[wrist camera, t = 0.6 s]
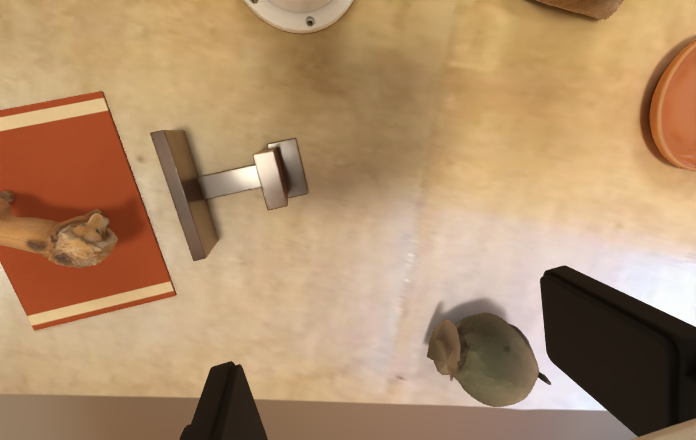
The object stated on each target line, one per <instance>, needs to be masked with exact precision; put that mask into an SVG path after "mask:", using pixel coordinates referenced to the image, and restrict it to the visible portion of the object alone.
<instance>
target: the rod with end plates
mask: <svg viewBox="0 0 696 440" xmlns="http://www.w3.org/2000/svg"><path fill="white" fill-rule="evenodd" d="M150 134H151V137H152V140H153V143H154V146H155V149H156V152H157V155H158V158H159V161H160V164H161V167H162V170H163V173H164V175H165V178H166V181H167V184H168V187H169V190H170V193H171V196H172V199H173V202H174V205H175V208H176V211H177V214H178V217H179V220H180V223H181V225H182V228H183V231H184V234H185V237H186V240H187V243H188V246H189V249H190V252H191V255H192V258H193V261H196V260H201V259H205V258H206V257H207V256H208V254H209V253H210V252H211V250H212V249H213V247H214V246H215V244H216V243H217V242H218V237H217V234H216V230H215V227H214V224H213V221H212V218H211V215H210V211H209V208H208V205H207V202H206V199H211V198H215V197H220V196H224V195H229V194H233V193H238V192H242V191H247V190H251V189H255V188H260V187H261V188H262V191H263V195H264V199H265V202H266V206H267V210H273V209H277V208H281V207H286V206H287V205H288V198H292V197H296V196H300V195H305V194H308V189H307V185H306V181H305V176H304V172H303V168H302V164H301V159H300V155H299V151H298V147H297V142H296V139H295V138H294V139H289V140H284V141H280V142H275V143H270V144H267V146H268V149H267V150H262V151H259V152H257V153H255V154H253V158H254V162H255V165H250V166H246V167H241V168H237V169H232V170H227V171H223V172H218V173H214V174H209V175H204V176H200V177H198V173H197V170H196V167H195V164H194V161H193V157H192V154H191V151H190V148H189V145H188V142H187V138H186V135H185V132H184V131H174V130H161V131H156V132H152V133H150Z"/></svg>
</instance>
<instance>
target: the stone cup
mask: <svg viewBox="0 0 696 440" xmlns="http://www.w3.org/2000/svg"><path fill="white" fill-rule="evenodd" d="M536 1H539V2H541V3H544V4H547V5H551V6H555V7H558V8H562V9H565V10H568V11H572V12H576V13H580V14H584V15H588V16H591V17H595V18H599V19H607V18H609V17H610V16H611V15H612V14H613V13H614V12H615V11H616V10H617V8H618V7H619V5H620V4H621V2H622V1H623V0H536Z"/></svg>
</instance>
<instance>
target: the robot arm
mask: <svg viewBox="0 0 696 440" xmlns="http://www.w3.org/2000/svg"><path fill="white" fill-rule="evenodd" d="M244 1H245V3H246V4H247V6H248V7H249V8H250V9H251V10H252V11H253V12H254V13H255V14H256V15H257V16H258V17H259V18H261V19H262V20H263V21H265V22H266V23H267V24H269V25H271V26H273V27H275V28H277V29H280V30H283V31H287V32H290V33H301V34H304V33H311V32H316V31H319V30H322V29H325V28H327V27H328V26H330V25H332V24H333V23H335V22H336V21H337V20H338V19H339V18H341V17H342V16H343V15H344V14H345V12H346V11H347V10H348V8H349V7H350V5H351V4H352V2H353V0H257V1H258V2H257V3H256V4H255V3H253V2H252V1H253V0H244ZM309 21H311V22H312V26H309V25H308V24H307V23H308V22H309ZM540 286H541V297H542V308H543V319H544V330H545V341H546V351H547V354H548V356H549V358H550V360H551V361H552V362H553V363H554V364H555V365H556V366H557V367H558V368H559V369H561V370H562V371H563V372H564V373H565V374H566V375H567V376H569V377H570V378H571V379H572V380H573V381H574V382H576V383H577V384H578V385H579V386H580V387H581V388H582V389H584V390H585V391H586V392H587V393H588V394H589V395H591V396H592V397H593V398H594V399H595V400H596V401H597V402H599V403H600V404H601V405H602V406H603V407H604V408H605V409H607V410H608V411H609V412H610V413H611V414H612V415H614V416H615V417H616V418H617V419H618V420H619V421H621V422H622V423H623V424H624V425H625V426H626V427H628V428H629V429H630V430H631V431H632V432H633V433H634V434H635V435H637V436H638V437H637V438H635V439H632V440H696V327H695V326H692V325H690V324H688V323H686V322H684V321H682V320H680V319H678V318H676V317H673V316H671V315H669V314H667V313H665V312H663V311H661V310H659V309H656V308H654V307H652V306H650V305H648V304H646V303H644V302H642V301H640V300H637V299H635V298H633V297H631V296H629V295H627V294H625V293H623V292H621V291H618V290H616V289H614V288H612V287H610V286H608V285H606V284H604V283H602V282H599V281H597V280H595V279H593V278H591V277H589V276H587V275H585V274H582V273H580V272H578V271H576V270H574V269H572V268H570V267H568V266H560V267H557V268H553V269H550V270H546V271H545V272H544V276H543V277H541V279H540ZM180 440H268V439H267V436H266V433H265V430H264V427H263V424H262V421H261V419H260V416H259V413H258V410H257V407H256V404H255V402H254V399H253V396H252V393H251V390H250V387H249V385H248V382H247V379H246V376H245V373H244V371H243V368H242V366H241V365H240V364H239V365H236V366H235V364H234V363H233V362H232V361H231V362H227V363H224V364H220V365H217V366H213V367H211V369H210V372H209V374H208V377H207V380H206V383H205V386H204V389H203V392H202V394H201V397H200V400H199V403H198V406H197V409H196V412H195V414H194V417H193V420H192V423H191V424H190V425H187V426H186V427H185V428H184V430H183V432H182V435H181V437H180Z"/></svg>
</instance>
